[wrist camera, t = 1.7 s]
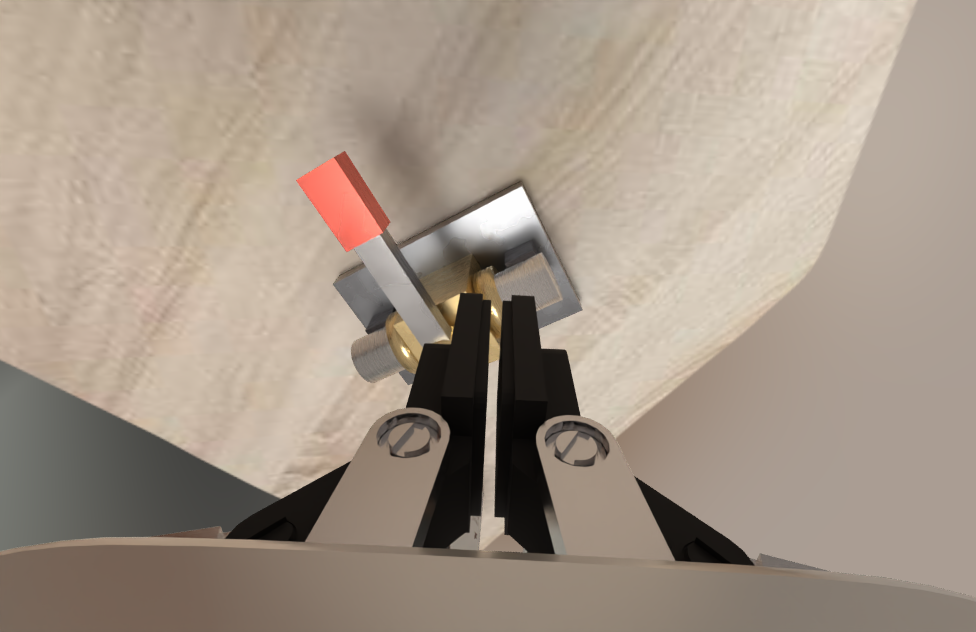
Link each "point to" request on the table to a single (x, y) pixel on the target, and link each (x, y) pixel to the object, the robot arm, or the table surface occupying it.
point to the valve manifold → (462, 280)
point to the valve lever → (373, 244)
